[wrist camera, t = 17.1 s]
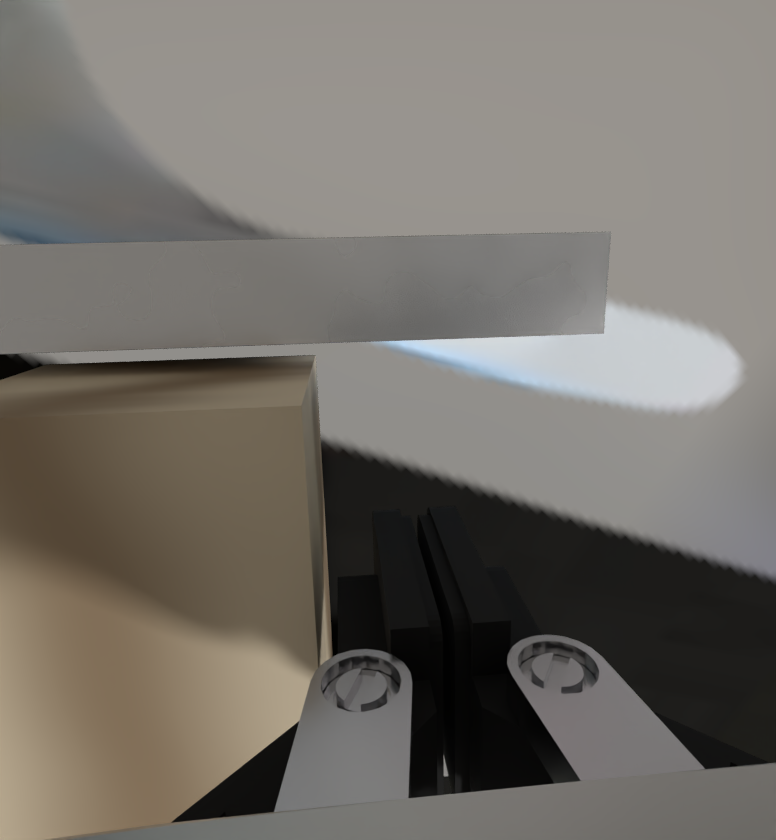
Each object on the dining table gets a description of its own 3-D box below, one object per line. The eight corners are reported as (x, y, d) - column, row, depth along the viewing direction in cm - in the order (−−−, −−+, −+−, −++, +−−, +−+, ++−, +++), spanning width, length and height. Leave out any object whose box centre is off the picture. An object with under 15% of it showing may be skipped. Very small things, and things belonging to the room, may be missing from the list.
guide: (571, 236, 13) (703, 221, 9) (545, 707, 17) (628, 886, 12) (-452, 259, 12) (-997, 255, 7) (-253, 771, 15) (-528, 1005, 10)
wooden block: (315, 354, 13) (301, 405, 9) (332, 652, 15) (328, 827, 11) (46, 364, 13) (-128, 423, 8) (101, 669, 15) (-13, 859, 10)
